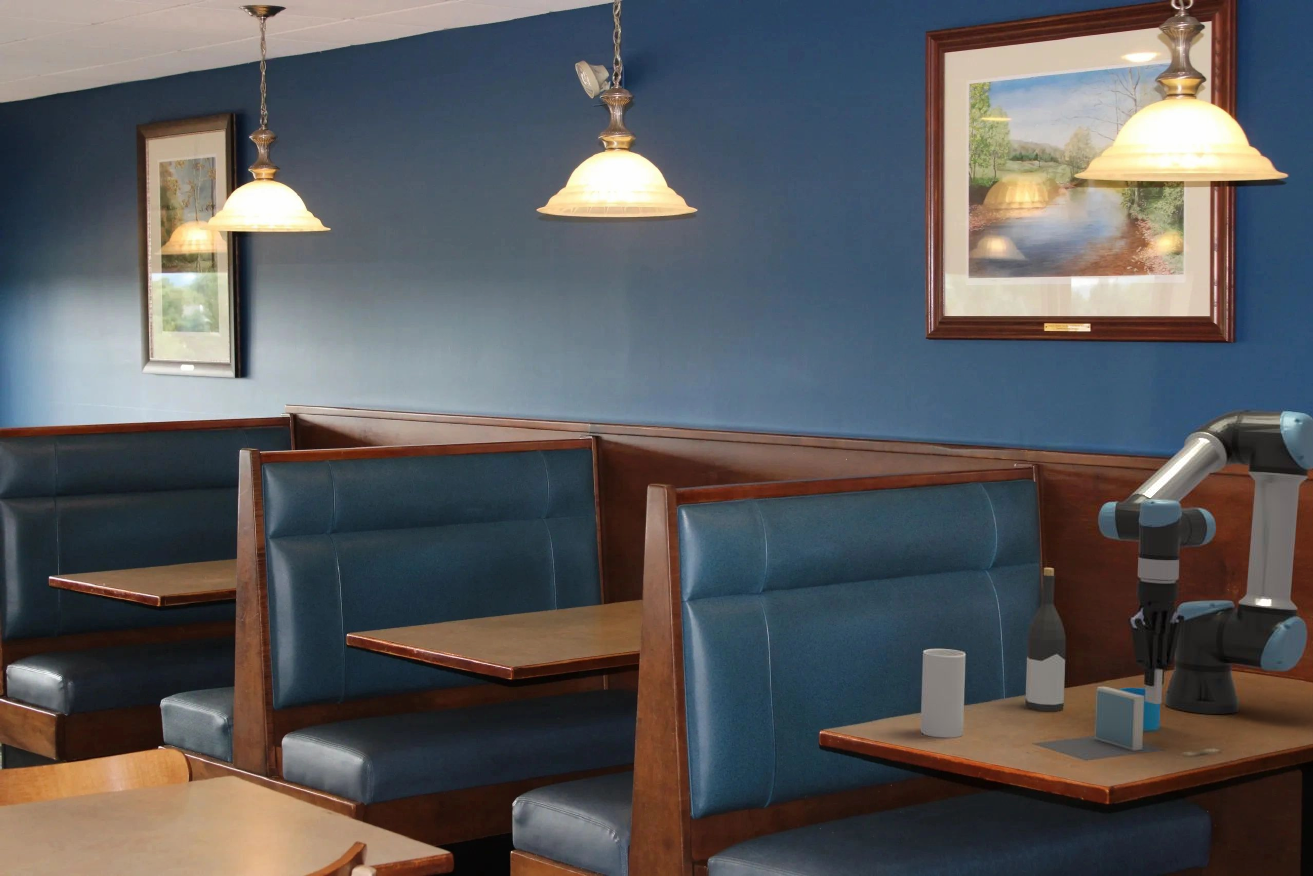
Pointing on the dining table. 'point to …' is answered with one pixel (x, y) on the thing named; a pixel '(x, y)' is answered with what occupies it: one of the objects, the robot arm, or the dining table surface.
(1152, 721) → the mug
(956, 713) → the cup
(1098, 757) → the mat
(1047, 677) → the wine bottle
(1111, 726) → the tile
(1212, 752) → the turner
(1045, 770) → the dining table surface
